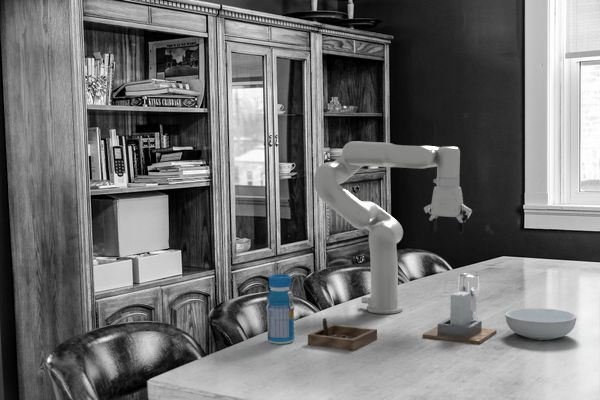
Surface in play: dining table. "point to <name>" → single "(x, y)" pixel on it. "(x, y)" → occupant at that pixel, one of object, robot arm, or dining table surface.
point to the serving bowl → (540, 322)
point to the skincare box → (460, 309)
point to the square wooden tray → (360, 334)
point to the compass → (327, 330)
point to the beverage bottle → (280, 310)
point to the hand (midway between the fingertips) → (447, 232)
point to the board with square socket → (460, 332)
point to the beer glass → (470, 290)
